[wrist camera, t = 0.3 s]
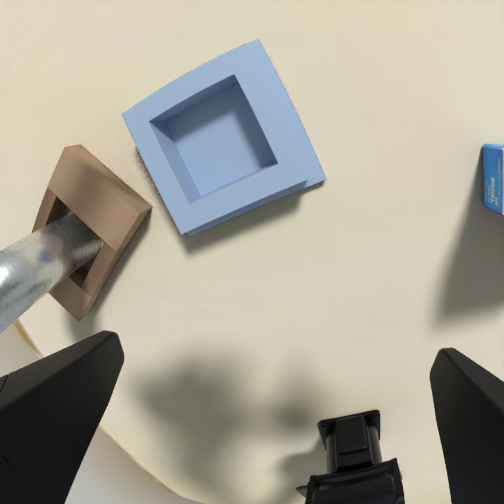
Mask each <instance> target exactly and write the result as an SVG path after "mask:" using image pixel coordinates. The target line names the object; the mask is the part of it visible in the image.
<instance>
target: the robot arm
mask: <svg viewBox="0 0 504 504" xmlns="http://www.w3.org/2000/svg"><path fill="white" fill-rule="evenodd" d="M123 363H124V352H123V349H122V346H121V342H120V339H119V336H118V334H117V333H115V332H111V331H101V332H99V333H97V334H95V335H93V336H91V337H88V338H86V339H84V340H82V341H80V342H78V343H75V344H73V345H71V346H69V347H67V348H64V349H62V350H60V351H58V352H56V353H54V354H51V355H49V356H47V357H45V358H43V359H40V360H38V361H36V362H34V363H32V364H30V365H27V366H25V367H23V368H20V369H18V370H16V371H14V372H12V373H10V374H9V375H5V376H3V377H1V378H0V504H64V503H65V501H66V498H67V496H68V493H69V491H70V488H71V486H72V484H73V481H74V479H75V477H76V474H77V472H78V470H79V467H80V465H81V462H82V460H83V458H84V456H85V453H86V451H87V449H88V447H89V444H90V442H91V440H92V438H93V436H94V433H95V431H96V429H97V427H98V425H99V423H100V421H101V418H102V416H103V414H104V412H105V410H106V408H107V406H108V403H109V401H110V398H111V396H112V393H113V390H114V387H115V384H116V382H117V379H118V376H119V373H120V371H121V368H122V365H123ZM430 383H431V389H432V395H433V402H434V408H435V416H436V422H437V427H438V431H439V436H440V440H441V444H442V449H443V454H444V459H445V464H446V470H447V475H448V481H449V488H450V494H451V502H452V504H504V382H503V381H502V380H500V379H499V378H497V377H496V376H495V375H493V374H492V373H490V372H489V371H487V370H486V369H484V368H483V367H481V366H480V365H478V364H477V363H475V362H474V361H472V360H471V359H469V358H468V357H466V356H465V355H463V354H462V353H460V352H459V351H457V350H456V349H454V348H442V349H440V350H439V351H438V353H437V356H436V358H435V361H434V363H433V366H432V368H431V371H430ZM319 428H320V431H321V435H322V439H323V442H324V446H325V449H326V451H327V474H324V475H317V476H316V475H311V476H310V482H308V488H307V495H306V501H305V504H405V500H404V491H403V485H402V481H401V476H400V472H399V467H398V463H397V459H396V458H393V459H391V460H389V461H386V462H382V456H381V450H380V444H379V440H380V411H379V410H374V411H370V412H365V413H361V414H356V415H351V416H346V417H341V418H336V419H330V420H324V421H321V422H320V423H319Z"/></svg>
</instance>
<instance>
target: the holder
mask: <svg viewBox="0 0 504 504" xmlns="http://www.w3.org/2000/svg"><path fill="white" fill-rule="evenodd" d="M65 205H66V206H67V207H68V208H69V209H70V210H71V211H73V212H74V213H75V214H76V215H77V216H78V217H79V218H80V219H81V220H82V221H83V222H84V223H85V224H86V225H87V226H88V227H89V228H91V229H92V230H93V231H94V232H95V233H96V234H97V235H98V236H99V237H100V238H102V239H103V240H104V241H105V242H104V244H103V246H102V248H101V249H100V251H99V253H98V255H97V257H96V259H95V261H94V263H93V265H92V267H91V269H90V271H89V273H87V272H86V271H85V270H84V269H83V268H82V267H79V268H78V269H77V270H76V271H74V272H73V273H72V274H70V275H69V276H68V277H67V278H65V279H64V280H63V281H61V282H60V283H59V284H58V285H56V286H55V287H54V288H53V289H51V290H50V291H49V292H48V293H49V294H50V295H51V296H52V297H53V298H54V299H55V300H57V301H58V302H59V303H60V304H61V305H62V306H63V307H64V308H65V309H66V310H67V311H68V312H69V313H70V314H71V315H73V316H74V317H75V318H76V319H77V320H78V321H79V322H80V320H81V319H82V318H83V317H84V316H85V315H86V314H87V313H88V312H89V311H90V310H91V308H92V306H93V304H94V302H95V300H96V299H97V297H98V295H99V293H100V291H101V289H102V288H103V286H104V284H105V282H106V280H107V279H108V277H109V275H110V273H111V272H112V270H113V268H114V267H115V265H116V263H117V261H118V260H119V258H120V256H121V255H122V253H123V251H124V250H125V248H126V246H127V245H128V243H129V242H130V240H131V238H132V237H133V235H134V234H135V232H136V230H137V229H138V227H139V226H140V224H141V223H142V221H143V219H144V218H145V216H146V215H147V213H148V212H149V210H150V209H151V207H152V205H150V204H149V203H148V202H147V201H146V200H144V199H143V198H142V197H141V196H140V195H139V194H137V193H136V192H135V191H134V190H133V189H132V188H130V187H129V186H128V185H127V184H126V183H124V182H123V181H122V180H121V179H120V178H119V177H118V176H116V175H115V174H114V173H113V172H112V171H111V170H109V169H108V168H107V167H106V166H105V165H104V164H102V163H101V162H100V161H99V160H98V159H97V158H96V157H94V156H93V155H92V154H91V153H90V152H89V151H88V150H87V149H85V148H84V147H83V146H82V145H81V144H80V145H74V146H68V147H65V148H64V150H63V152H62V154H61V156H60V159H59V161H58V163H57V165H56V168H55V170H54V172H53V175H52V177H51V180H50V182H49V185H48V187H47V190H46V192H45V195H44V198H43V200H42V203H41V206H40V209H39V212H38V215H37V218H36V221H35V224H34V227H33V230H32V233H33V232H35V231H37V230H39V229H41V228H43V227H45V226H47V225H49V224H51V223H53V222H55V221H57V220H59V218H60V216H61V214H62V211H63V209H64V206H65ZM32 233H31V234H32Z"/></svg>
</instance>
